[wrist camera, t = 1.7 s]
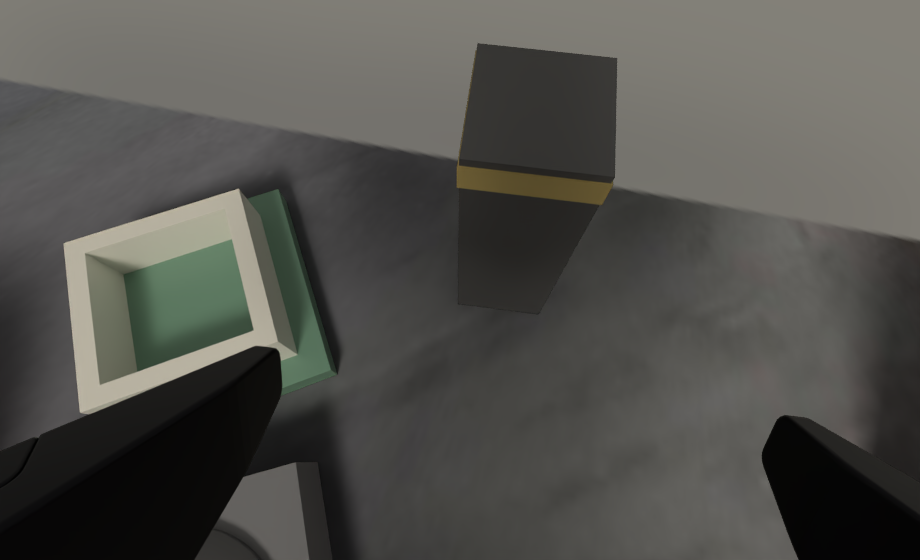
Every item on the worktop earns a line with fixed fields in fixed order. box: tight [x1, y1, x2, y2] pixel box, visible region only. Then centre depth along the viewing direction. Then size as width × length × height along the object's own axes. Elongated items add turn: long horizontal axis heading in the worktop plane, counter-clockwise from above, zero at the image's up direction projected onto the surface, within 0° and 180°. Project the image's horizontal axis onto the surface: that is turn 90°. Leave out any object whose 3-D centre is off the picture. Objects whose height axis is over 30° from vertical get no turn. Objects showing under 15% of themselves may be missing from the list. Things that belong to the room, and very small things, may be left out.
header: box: [64, 189, 337, 414], centre depth 21 cm, size 10×10×4 cm
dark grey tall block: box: [457, 43, 617, 314], centre depth 18 cm, size 5×4×12 cm
